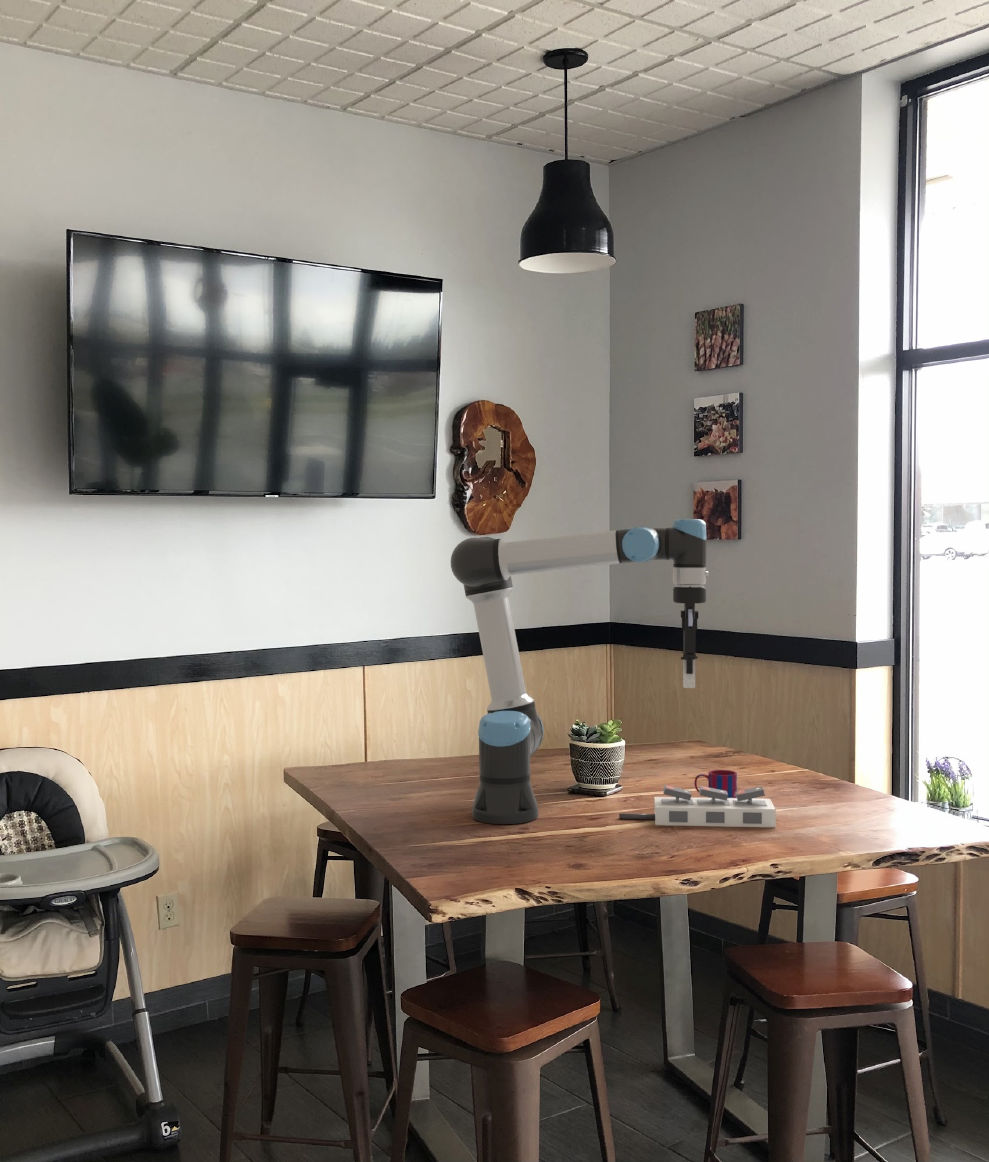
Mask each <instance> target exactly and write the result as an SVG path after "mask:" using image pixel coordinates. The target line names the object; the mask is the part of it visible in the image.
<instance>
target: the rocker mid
mask: <svg viewBox="0 0 989 1162" xmlns="http://www.w3.org/2000/svg"><path fill="white" fill-rule="evenodd" d="M698 789H699V792H698V794H699V796H701V797H705V798H709V797H711V798H716V799H721V800H726V801H727V798H728V793H727V791H724V790H719V789H714V788H709V787H708V786H703V785H700V786H699V788H698Z"/></svg>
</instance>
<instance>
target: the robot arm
mask: <svg viewBox="0 0 989 1162" xmlns="http://www.w3.org/2000/svg"><path fill="white" fill-rule="evenodd" d="M649 561H672V563H673V567H672V583H673V585H675V586H674V587H673V588H672V593H673V594H672V597H673V598H672V601H673V602H674V603H675V604H683V605H684V606H683V610H680V618H681V629H682V631H683V632H682V634H683V635H682V637H683V639H682V641H683V645H682V646H683V647H682V648H683V651H682V656H680V660H681V661H682V664H683V665H682V666H683V669H682V688H684V689H696V660H698V655H697V654H696V647H697V646H696V645H697V642H696V639H697V637H696V636H697V635H696V633H697V630H698V619H699V611H698V610H696V604H705V603H706V602H707V588H706V587H705V586H704V585H705V584H706V583H707V576H709V575H710V574H709V571H707V524H706V522H705V520H703V519H699V518H698V519H697V518H694V519H693V518H689V519H687V518H685V519H682V518H681V519H680V518H679V519H674V521H673V525H672V527H666V528H665V527H663V528H662V527H645V526H636V527H629V528H628V527H627V528H624V529H617V530H608V531H607V530H605V531H597V532H588V533H579V534H570V535H563V536H562V535H560V536H551V537H543V538H542V537H541V538H533V539H525V540H524V539H522V540H515V541H507V540H505V539H504V538H502V537H501V538H493V537H491V536H481V537H469V538H466V539H464V540H462V541H461V542H459V543H458V544H457V545H455V547H454V549H453V550H452V553H451V556H450V568H451V573H452V574H453V576H454V578H456V580H457V581H459V582H460V583H461V584H462V585H463V589H464V594H465V598H466V599H468V600H469V601H471V602H472V603H473V607H474V609H473V610H474V613H475V618H476V624H477V625H476V626H477V629H478V634H479V639H480V640H479V641H480V644H481V651H482V657H483V660H484V667H485V671H486V672H485V673H486V677H487V681H488V682H487V683H488V687H489V692H490V693H489V695H490V698H491V700H490V703H489V705H488V706H487V707H486V710H487V714H485V715H484V716H482V717H481V718H480V720H479V722H478V723H479V724H478V730H477V732H478V733H477V734H478V755H479V756H478V757H479V759H478V761H479V762H478V764H479V765H478V767H479V784H478V787H477V791H476V793H475V797H474V800H473V804H472V806H471V807H472V808H471V812H472V813H471V815H472V816H471V817H472V818H473V820H476V822H477V821H478V822H481V823H486V824H491V825H493V824H495V825H515V824H523V823H527V822H528V823H529V822H532V821H534V820H536V819H538V818H539V805H538V802H537V799H536V797H535V793H534V790H533V787H532V783H531V756H532V755H534V754H535V753H536V752H537V750H538V749H539V748H540V746H541V744H542V742H543V737H544V724H543V722H542V720H541V718H540V717H539V715H538V713H537V707H536V703H535V699H534V698H533V697H531V696H530V695H528V694H527V687H526V684H525V678H524V674H523V668H522V662H521V657H520V652H519V646H518V641H517V636H516V630H515V626H514V625H515V623H514V619H513V615H512V610H511V603H510V599H509V596H510V594H511V592H512V591H513V589H514V585H513V580H512V576H513V575H514V576H516V575H523V574H532V573H544V572H552V571H561V570H562V571H563V570H571V569H581V568H589V567H592V568H593V567H599V566H611V565H619V564H631V563H632V564H633V563H644V562H645V563H646V562H649Z"/></svg>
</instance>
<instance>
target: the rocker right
mask: <svg viewBox="0 0 989 1162" xmlns="http://www.w3.org/2000/svg"><path fill="white" fill-rule="evenodd" d="M735 794H736V798H737V800H738V801H743V800H747V799H752V798H756V799H758V798H761V797H762V798H763V797H765V796H766V795H765V790H764V788H763V786H756V787H751V788H746V789H740V790H737V791H736V792H735Z"/></svg>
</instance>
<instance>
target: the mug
mask: <svg viewBox="0 0 989 1162" xmlns="http://www.w3.org/2000/svg"><path fill="white" fill-rule="evenodd" d="M695 776H696V777H695V779H694V787H695V790H696V792H698V793H699V789H700V788H699V787H698V785H697V784H698V783H697V782H698V781H697V780H698V778H700V777H705V778H706V779H707V780H708V786H707V787H709V788H714V789H719V790H724V791H727V793H728V798H736V794H735V792H736V791H738V784H737V783H738V782H737V781H738V780H737V779H738V772H736V771H734V770H730V769H713V770H709V771H708V775H707V774H705V773H704V774H703V773H701V774H698V775H695ZM708 798H711V797H708Z"/></svg>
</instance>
